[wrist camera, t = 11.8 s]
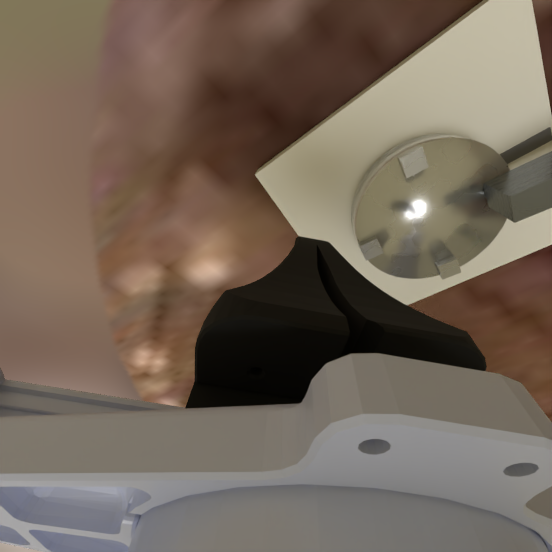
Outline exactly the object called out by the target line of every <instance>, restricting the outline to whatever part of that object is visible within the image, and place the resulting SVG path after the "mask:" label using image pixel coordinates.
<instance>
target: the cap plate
mask: <svg viewBox="0 0 552 552" xmlns="http://www.w3.org/2000/svg"><path fill="white" fill-rule="evenodd" d="M437 133H440V134H451V135H456V136H460V137H464V138H468V139H471V140H475V141H478V142H480V143H483V144H486V145H487V146H489V147H491V148H492V149H494V150H495V151H496V152H497V153H498V154H500V155H501V156H502V158H503V159H504V160H505V162H506V163H507V165H508V167H509V169H510V170H512V169H514V168H517V167H519V166H521V165H523V164H525V163H527V162H529V161H531V160H534V159H536V158H538V157H540V156H542V155H544V154H546V153H548V152H551V151H552V115H551V109H550V103H549V97H548V91H547V86H546V80H545V74H544V68H543V63H542V57H541V51H540V45H539V39H538V34H537V28H536V22H535V16H534V11H533V5H532V0H483V1H482V2H480V3H479V4H478V5H476V6H475V7H474V8H472V9H471V10H470V11H468V12H467V13H466V14H464V15H463V16H462V17H460V18H459V19H458V20H456V21H455V22H454V23H452V24H451V25H450V26H448V27H447V28H446V29H444V30H443V31H442V32H440V33H439V34H438V35H436V36H435V37H434V38H432V39H431V40H430V41H428V42H427V43H426V44H424V45H423V46H422V47H420V48H419V49H418V50H416V51H415V52H414V53H412V54H411V55H410V56H408V57H407V58H406V59H404V60H403V61H402V62H400V63H399V64H398V65H396V66H395V67H394V68H392V69H391V70H390V71H388V72H387V73H386V74H384V75H383V76H382V77H380V78H379V79H378V80H376V81H375V82H374V83H372V84H371V85H370V86H368V87H367V88H366V89H364V90H363V91H362V92H360V93H359V94H358V95H356V96H355V97H354V98H352V99H351V100H350V101H348V102H347V103H346V104H344V105H343V106H342V107H340V108H339V109H338V110H336V111H335V112H334V113H332V114H331V115H330V116H328V117H327V118H326V119H324V120H323V121H322V122H320V123H319V124H318V125H316V126H315V127H314V128H312V129H311V130H310V131H308V132H307V133H306V134H304V135H303V136H302V137H300V138H299V139H298V140H296V141H295V142H294V143H292V144H291V145H290V146H288V147H287V148H286V149H284V150H283V151H282V152H280V153H279V154H278V155H276V156H275V157H274V158H272V159H271V160H270V161H268V162H267V163H266V164H264V165H263V166H262V167H260V168H259V169H258V170H257V172H256V174H255V176H256V177H257V178H258V180H259V181H260V183H261V184H262V185H263V187H264V188H265V190H266V191H267V192H268V194H269V195H270V197H271V198H272V199H273V201H274V202H275V204H276V205H277V206H278V208H279V209H280V211H281V212H282V213H283V215H284V216H285V218H286V219H287V220H288V222H289V223H290V225H291V226H292V227H293V229H294V230H295V232H296V233H297V234H298V236H301V237H306V238H312V239H317V240H323V241H328V242H329V243H330V244H332V245H333V247H334V248H335V249H336V250H337V251H338V252H339V253H340V254H341V255H342V256H343V257H344V258H345V259H346V260H347V261H348V262H349V263H350V264H351V265H352V266H353V267H354V268H355V269H356V270H357V271H358V272H359V273H360V274H362V275H363V276H364V277H365V278H366V279H367V280H369V281H370V282H371V283H373V284H374V285H375V286H377V287H378V288H379V289H381V290H382V291H384V292H385V293H387V294H388V295H390V296H392V297H393V298H395V299H397V300H398V301H400V302H402V303H403V304H405V305H409V304H411V303H414V302H416V301H418V300H421V299H423V298H426V297H428V296H430V295H433V294H435V293H437V292H440V291H442V290H445V289H447V288H449V287H452V286H454V285H456V284H459V283H461V282H464V281H466V280H468V279H471V278H473V277H475V276H478V275H480V274H483V273H485V272H487V271H490V270H492V269H494V268H497V267H499V266H502V265H504V264H506V263H509V262H511V261H513V260H516V259H518V258H521V257H523V256H525V255H528V254H530V253H532V252H535V251H537V250H540V249H542V248H544V247H547V246H549V245H552V208H550V209H547V210H545V211H543V212H540V213H538V214H535V215H533V216H530V217H528V218H526V219H523V220H521V221H518V222H516V223H514V222H512V221H511V220H509V219H507V220H506V222H505V224H504V226H503V228H502V229H501V231H500V232H499V234H498V235H497V236H496V238H495V239H494V240H493V241H492V242H491V244H490V245H489V246H488V247H487V248H486V249H484V250H483V251H482V252H481V253H480V254H479V255H477V256H476V257H475V258H474V259H472V260H471V261H469V262H468V263H466V264H464V265H462V266H461V267H460V270H461V273H459V274H456V275H454V276H451V277H448V278H446V279H443V280H442V278H441V277H440V276H439V275H438V276H434V277H429V278H422V279H407V278H400V277H395V276H392V275H389V274H387V273H384V272H382V271H381V270H379V269H377V268H376V267H375V266H373V265H372V264H371V263H370V262H369V261H368V260H367V261H366V260H365V258H364V256H363V254H362V252H361V250H360V248H359V245H358V241H357V239H356V236H355V234H354V231H353V227H352V222H351V207H352V202H353V198H354V195H355V192H356V190H357V187H358V185H359V183H360V181H361V180H362V178H363V177H364V175H365V173H366V172H367V171H368V170H369V168H370V167H371V166H372V165H373V164H374V163H375V162H376V161H377V160H378V159H379V158H380V157H381V156H382V155H384V154H385V153H386V152H387V151H389V150H390V149H392V148H394V147H395V146H397V145H399V144H401V143H403V142H405V141H407V140H409V139H412V138H415V137H418V136H423V135H427V134H437Z"/></svg>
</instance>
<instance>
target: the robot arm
mask: <svg viewBox="0 0 552 552" xmlns="http://www.w3.org/2000/svg"><path fill="white" fill-rule="evenodd" d="M0 543H5V544H9V545H14V546H20V547H24V548H29V549H34V550H38V551H43V552H552V422H551V421H550V420H549V418H548V417H547V416H546V415H545V413H544V412H543V411H542V409H541V408H540V407H539V405H538V404H537V403H536V402H535V400H534V399H533V398H532V396H531V395H530V394H529V392H528V391H527V390H526V388H525V387H524V386H523V385H522V383H520V382H518V381H515V380H513V379H511V378H508V377H506V376H503V375H501V374H497V373H492V372H486V362H485V357H484V356H483V355H482V353H481V352H480V350H479V349H478V347H477V346H476V344H475V343H474V341H473V340H472V338H471V337H470V336H469V334H468V333H467V332H466V331H463V330H461V329H458V328H456V327H453V326H451V325H448V324H446V323H443V322H441V321H438V320H436V319H433V318H431V317H429V316H427V315H425V314H423V313H421V312H419V311H417V310H415V309H413V308H411V307H409V306H407V305H405V304H403V303H402V302H400V301H398V300H397V299H395V298H393V297H392V296H390V295H388V294H387V293H385V292H384V291H382V290H381V289H379V288H378V287H377V286H375V285H374V284H373V283H371V282H370V281H369V280H367V279H366V278H365V277H364V276H363V275H362V274H360V273H359V272H358V271H357V270H356V269H355V268H354V267H353V266H352V265H351V264H350V263H349V262H348V261H347V260H346V259H345V258H344V257H343V256H342V255H341V254H340V253H339V252H338V251H337V250H336V249H335V248H334V247H333V245H332V244H330V243H329V242H328V241H323V240H317V239H312V238H306V237H301V236H299V237H297V238H296V241H295V245H294V247H293V249H292V250H291V252H290V253H289V255H288V256H287V257H286V258H285V259H284V260H283V262H282V263H281V264H280V265H279V266H278V267H276V268H275V269H274V270H273V271H272V272H270V273H269V274H267V275H266V276H264V277H263V278H261V279H259V280H257V281H255V282H253V283H250V284H248V285H245V286H241V287H237V288H234V289H230V290H226V291H225V292H224V293H223V294H222V295H221V297H220V298H219V299H218V301H217V302H216V303H215V305H214V306H213V308H212V309H211V311H210V313H209V314H208V316H207V318H206V319H205V321H204V323H203V326H202V328H201V331H200V333H199V335H198V338H197V342H196V347H195V382H194V385H193V388H192V391H191V394H190V396H189V399H188V402H187V405H186V408H183V407H177V406H170V405H164V404H158V403H151V402H145V401H139V400H132V399H126V398H120V397H113V396H107V395H101V394H94V393H88V392H82V391H75V390H69V389H63V388H56V387H50V386H43V385H37V384H30V383H25V382H18V381H12V380H6V379H5V378H4V374H3V372H2V370H1V368H0Z"/></svg>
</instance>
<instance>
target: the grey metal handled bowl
mask: <svg viewBox="0 0 552 552" xmlns="http://www.w3.org/2000/svg"><path fill="white" fill-rule="evenodd" d="M550 208H552V151H551V152H548V153H546V154H544V155H542V156H540V157H538V158H536V159H534V160H531V161H529V162H527V163H525V164H523V165H521V166H519V167H517V168H514V169H512V170H510V169H509V167H508V165H507V163H506V162H505V160H504V159H503V158H502V156H501V155H500V154H498V153H497V152H496V151H495V150H494V149H492V148H491V147H489V146H487V145H486V144H483V143H480V142H478V141H475V140H471V139H468V138H464V137H460V136H456V135H451V134H440V133H437V134H427V135H423V136H418V137H415V138H412V139H409V140H407V141H405V142H403V143H401V144H399V145H397V146H395V147H394V148H392V149H390V150H389V151H387V152H386V153H385V154H384V155H382V156H381V157H380V158H379V159H378V160H377V161H376V162H375V163H374V164H373V165H372V166H371V167H370V168H369V170H368V171H367V172H366V173H365V175H364V177H363V178H362V180H361V181H360V183H359V185H358V187H357V190H356V192H355V195H354V198H353V202H352V207H351V222H352V227H353V231H354V234H355V236H356V239H357V241H358V245H359V248H360V250H361V252H362V254H363V256H364V258H365V260H366V261H367V260H368V261H369V262H370V263H371V264H372V265H373V266H375V267H376V268H377V269H379V270H381V271H382V272H384V273H387V274H389V275H392V276H395V277H400V278H407V279H422V278H429V277H434V276H438V275H439V276H440V277H441V278H442V280H443V279H446V278H448V277H451V276H454V275H456V274H459V273H461V270H460V267H461V266H462V265H464V264H466V263H468V262H469V261H471V260H472V259H474V258H475V257H476V256H477V255H479V254H480V253H481V252H482V251H483V250H484V249H486V248H487V247H488V246H489V245H490V244H491V242H492V241H493V240H494V239H495V238H496V236H497V235H498V234H499V232H500V231H501V229H502V228H503V226H504V224H505V222H506V220H507V219H509V220H511V221H512V222H514V223H516V222H518V221H521V220H523V219H526V218H528V217H530V216H533V215H535V214H538V213H540V212H543V211H545V210H547V209H550Z"/></svg>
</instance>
